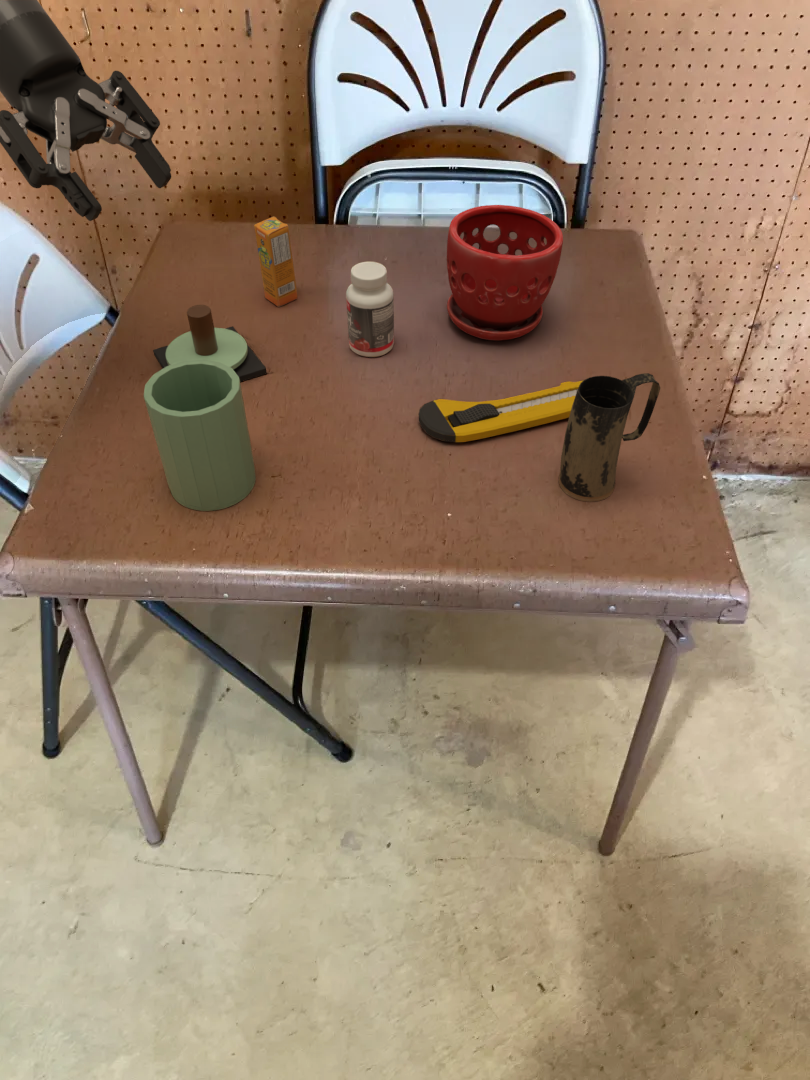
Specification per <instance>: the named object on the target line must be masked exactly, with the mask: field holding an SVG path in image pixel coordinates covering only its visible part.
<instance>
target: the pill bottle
mask: <svg viewBox="0 0 810 1080" xmlns="http://www.w3.org/2000/svg"><path fill="white" fill-rule="evenodd" d="M350 282H351V283H350V284H349V286H348V287H347V289H346V292H345V301H346V302H345V303H346V317H347V336H348V337H347V338H348V346H349V348H350V350H351V351H352V352H353V353H355V354H356V355H358V356H361V357H367V358H368V357H369V358H375V357H380V356H383V355H385V354H388V353H389V352H390V351H392V349H393V347H394V344H395V324H394V323H395V312H394V311H395V310H394V309H395V304H394V303H395V302H394V301H395V298H394V296H395V295H394V290H393V287H392V285H390V284H389V283H388V272H387V268H386V267H385V265H383V263H380V262H376V261H361V262H358V263H356V264H355V265H353V266H352V267H351V269H350Z"/></svg>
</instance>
